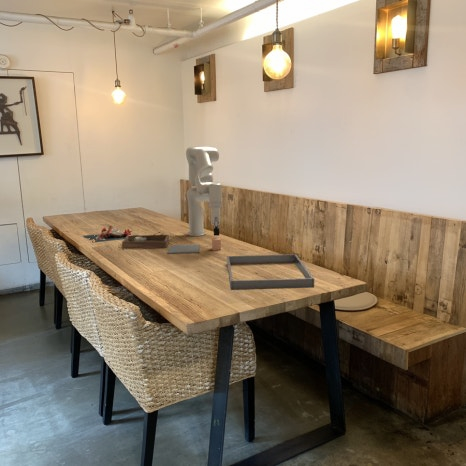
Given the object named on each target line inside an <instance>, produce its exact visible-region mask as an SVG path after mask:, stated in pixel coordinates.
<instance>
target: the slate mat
mask: <svg viewBox="0 0 466 466" xmlns="http://www.w3.org/2000/svg"><path fill="white" fill-rule="evenodd" d="M200 248H201V245H200V244H172V245H171V244H170V245H169V247H168V249H167V252H166V254H168V255H170V254H171V255H175V254H180V255H181V254H200Z"/></svg>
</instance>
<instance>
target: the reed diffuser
mask: <svg viewBox="0 0 466 466" xmlns="http://www.w3.org/2000/svg"><path fill="white" fill-rule="evenodd" d="M159 233H161V231H159V232H157V233H155V234H151V235H152V236H153V235H157V236H159V235H164V233H162V234H159ZM150 237H151V236H149V237H147V238H150ZM153 237H154V236H153ZM165 239H166V238H165ZM146 240H149V239H146V238H142V237H135V238H134V242H138V241H146ZM156 241H161V240H156Z"/></svg>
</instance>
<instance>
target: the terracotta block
mask: <svg viewBox="0 0 466 466" xmlns="http://www.w3.org/2000/svg"><path fill="white" fill-rule="evenodd" d="M221 242H222V239H221V237H214V238H213V237H212V238H211V250H212V251H220V250H222V248H221V247H222V243H221Z"/></svg>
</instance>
